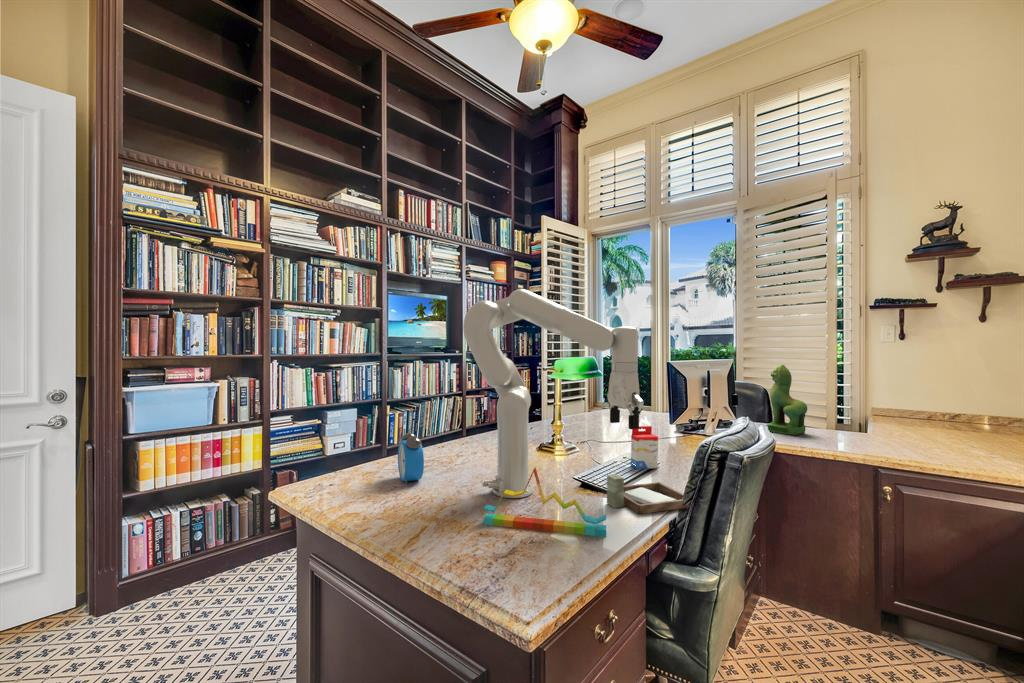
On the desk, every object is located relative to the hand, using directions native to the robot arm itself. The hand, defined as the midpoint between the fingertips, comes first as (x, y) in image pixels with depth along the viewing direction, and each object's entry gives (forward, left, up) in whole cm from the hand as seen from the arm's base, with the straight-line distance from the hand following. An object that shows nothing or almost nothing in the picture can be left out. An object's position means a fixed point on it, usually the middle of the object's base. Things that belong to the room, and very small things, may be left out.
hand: (623, 425), depth 134 cm
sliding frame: (+4, -5, -21) cm, 22 cm away
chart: (-31, -13, -22) cm, 40 cm away
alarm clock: (-59, +34, -22) cm, 72 cm away
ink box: (+25, +26, -22) cm, 42 cm away
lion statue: (+132, +59, -22) cm, 146 cm away
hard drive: (+6, -5, -21) cm, 23 cm away
